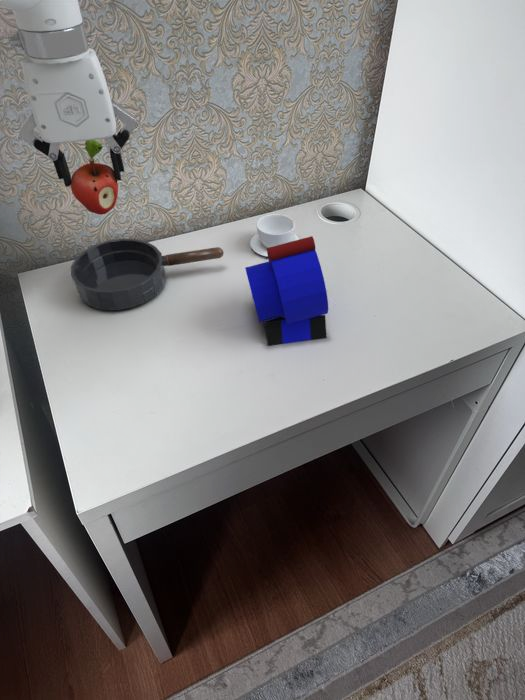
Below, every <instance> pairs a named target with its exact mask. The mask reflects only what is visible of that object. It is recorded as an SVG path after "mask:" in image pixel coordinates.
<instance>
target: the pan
mask: <svg viewBox="0 0 525 700" xmlns="http://www.w3.org/2000/svg"><path fill="white" fill-rule="evenodd" d="M162 256H163V255H162V253H161V251H160V250H159V248H157V246H156V245H154V244H152V243H151V242H148V241H145V240H141V239H137V238H117V239H110V240H105V241H103V242H100V243H96V244H94V245H93V246H91V247H90V246H89V248H87V249H85V250H83V251H82V252H81V253H80V254H79V255H77V256H76V258H75V259H74V261H73V262H72V264H71V266H70V276H71V280H72V282H73V285H74V287H75V291H76V293H77V295H78V297H79V298H80V300H81V301H82V302H83V303H85V304H86V305H88V306H89V307H92V308H95V309H99V310H103V311H119V310H120V311H121V310H126V309H131V308H134V307H137V306H140V305H143V304H144V303H145V304H146V303H147V302H148V301H150V300H151V299H153V298H154V297H156V296H157V295H158V294H159V293H160V291H161V290H163V288H164V285H165V283H166V279H167V276H166V271H165V270H166V269H165V266H164V265H163V260H162Z"/></svg>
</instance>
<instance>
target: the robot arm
mask: <svg viewBox="0 0 525 700" xmlns="http://www.w3.org/2000/svg"><path fill="white" fill-rule="evenodd" d="M0 9H4V10H9V11H12V14H13V17H14V20H15V24H16V26H17V29H16V31H15V32H13V33H8V34H7V37H8V43H9V45H10V47H11V48H18V49H21V50H22V51H23V52H24V55H23V57H22V58H21V68H22V74H23V80H24V84H25V89H26V93H27V97H28V100H29V101H28V102H29V104H30V108H31V112H30V113H29V114H28V116H27V118H26V119H25V121H24V122H23V123H22V125H21V126H20V127H19V130H18V136H19V138H21V140H24V141H25V142H27V143H28V144H30V145H32V146H33V147H34V149H36V150H37V151H39V152H40V153H42V154H44V155H45V156H47V157H48V159H49V160H50V161H52V163H53V166H54V168H55V170H56V174H57V177H58V179H59V180H63V183H64V186H65V188H67V187H71V178H72V175H71V172H70V168H69V166H68V162H67V160H66V156H65V153H64V152H63V151H62V150H61V149H60V147H61V144H68V143H69V144H71V143H80V142H86V141H90V140H96V141H99V140H104V142H105V143H106V144H107V146H108V147H109V156H110V161H111V164H112V165H111V166H112V169H113V170H114V173H115V177H116V180H117V181H121V180H122V175H121V173H124V172H125V167H124V166H125V165H124V161H123V157H122V149H123V148H124V146H125V145H126V144H127V142H128V140H129V139H130V136H131V135H132V134H133V132H134V130H135V129H136V127H137V126H138V119H137V117H136V116H135V115H133V114H132V113H130V112H129V111H128V110H126V109H124V108H123V107H122V106H120V105H119V104H117V103H116V102H115V101H113V100H112V98H111V94H110V91H109V87H108V84H107V80H106V77H105V73H104V71H103V68H102V66H101V63H100V60H99V58H98V56H97V53H96V51H95V49H93V48H90V46H89V43H88V42H89V41H88V39H87V34H86V31H85V30H86V29H85V24H84V22H83V18H82V13H81V8H80V4H79V0H0ZM116 118H117V119H118V120H120V121H122V123H123V126H122V127H121V128H120V129H119V130H118V132H117V121H116ZM35 128H37V131H38V134H39V135H37V133H35V132H34V130H35ZM116 132H117V134H116Z"/></svg>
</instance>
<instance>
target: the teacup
mask: <svg viewBox="0 0 525 700" xmlns="http://www.w3.org/2000/svg"><path fill="white" fill-rule="evenodd" d="M255 225H256V232H257V233H255V234H254V235H252V237H251V238H250V242H249V246H250V248H251V249H252V250H253V251H254V252H255V253H256V254H258V255H261V256H263V257H267V258H268V254H267V248H269V247H273V246H277V245H280V244H284V243H288V242H292V241H296V240H299V239H300V238H299V236H298V235H297V234H295V228H296V222H295V221H294V219H293V218H292V217H290V216H288V215H285V214H282V213H270V214H266V215H263V216H261V217H260V218H258V219H257V221H256V224H255Z"/></svg>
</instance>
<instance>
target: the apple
mask: <svg viewBox="0 0 525 700" xmlns="http://www.w3.org/2000/svg"><path fill="white" fill-rule="evenodd" d="M84 142H85V143H84V145H85V146H84V149H85V151H86V153H87V154H88V157H89V159H88V162H89V163H85V164H83V165H82V166H80V167H78V168H77V169H76V170H75V171H74V172H73V173H72V175H71V185H70V189H71V193H72V194H73V196H74V199H76V200H77V201H78V202H79V203H80V204H81V205H82V206H83V207H84V208H85V209H86V211H88V212H89V213H93V214H95V215H100V216H101V215H106V214H107V213H109V212H110V211H112V210H113V209H114V208H115V206H116V203H117V200H118V195H119V183H118V180H116V177H115V173H114V169H113V167H111V166H110V165H107V164H105V163H99V162H98V163H97V162H95V160H94V157H95V156H97V155H98V154H99V153H100V152H101V151H102V150H103V148H104V145H103V144H102V143H101V142H99V141H98V140H90V141H84Z"/></svg>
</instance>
